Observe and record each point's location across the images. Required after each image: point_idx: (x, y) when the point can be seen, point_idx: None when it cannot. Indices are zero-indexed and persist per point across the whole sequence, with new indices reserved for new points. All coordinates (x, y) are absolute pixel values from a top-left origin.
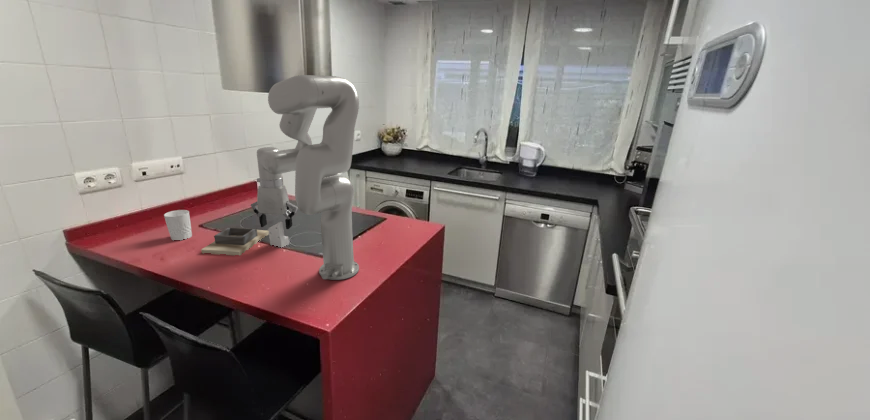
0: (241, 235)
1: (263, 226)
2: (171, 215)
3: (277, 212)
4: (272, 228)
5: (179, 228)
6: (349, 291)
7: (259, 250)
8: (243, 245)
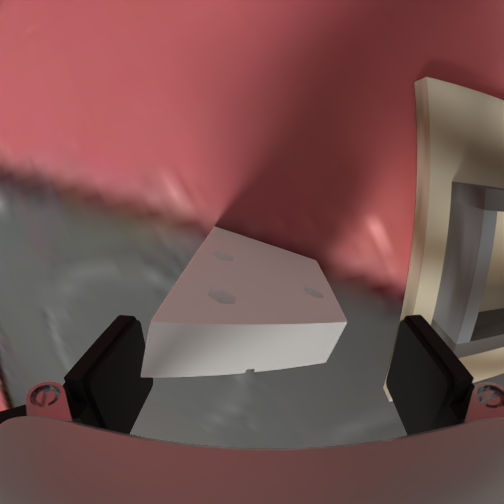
0: (498, 309)
1: (398, 328)
2: None
3: (79, 460)
4: (287, 309)
5: None
6: None
7: (343, 165)
8: (452, 176)
